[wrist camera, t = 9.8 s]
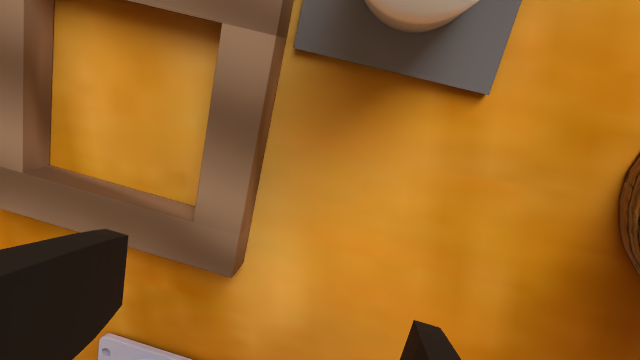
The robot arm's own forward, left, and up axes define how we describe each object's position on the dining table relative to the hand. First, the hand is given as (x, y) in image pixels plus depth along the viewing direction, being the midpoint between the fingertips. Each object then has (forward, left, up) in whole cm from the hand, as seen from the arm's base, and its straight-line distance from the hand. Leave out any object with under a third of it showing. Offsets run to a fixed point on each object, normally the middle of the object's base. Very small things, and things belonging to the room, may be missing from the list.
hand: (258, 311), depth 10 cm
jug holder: (+2, +10, -9) cm, 14 cm away
